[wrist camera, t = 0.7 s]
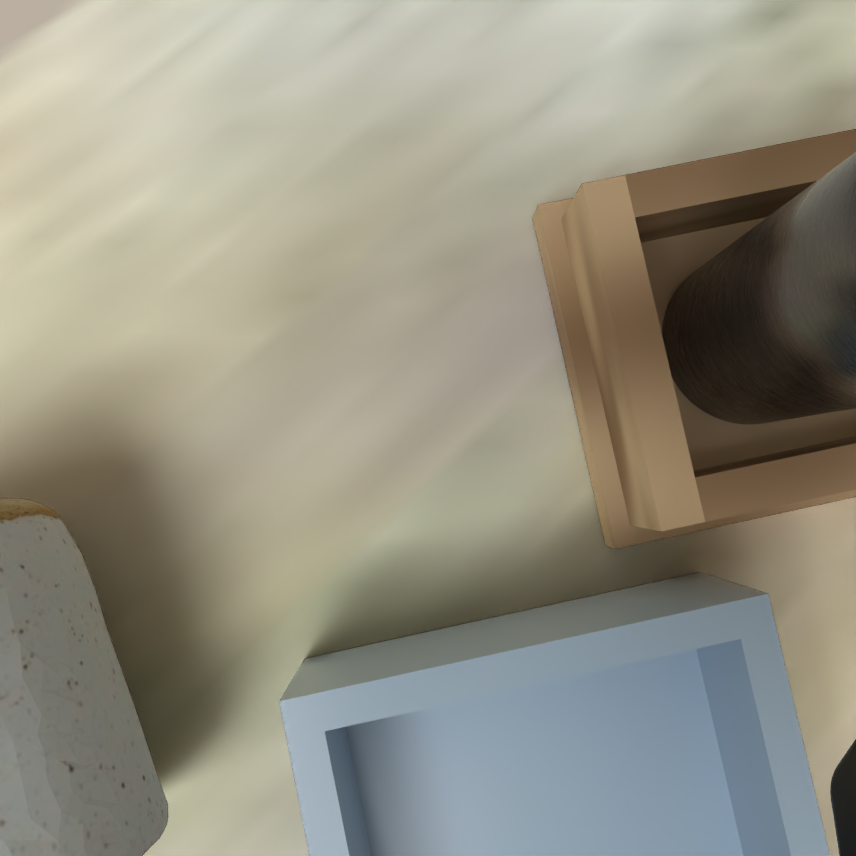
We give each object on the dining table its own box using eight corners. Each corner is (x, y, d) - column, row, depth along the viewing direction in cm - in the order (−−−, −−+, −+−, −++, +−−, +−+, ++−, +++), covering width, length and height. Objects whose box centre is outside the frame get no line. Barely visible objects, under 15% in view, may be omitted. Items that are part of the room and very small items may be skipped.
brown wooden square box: (931, 475, 21) (1034, 474, 18) (605, 546, 21) (644, 558, 17) (851, 153, 22) (935, 91, 18) (532, 217, 22) (556, 166, 18)
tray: (794, 981, 20) (887, 1104, 16) (388, 1078, 20) (382, 1228, 16) (700, 572, 21) (768, 593, 17) (304, 658, 21) (279, 700, 17)
